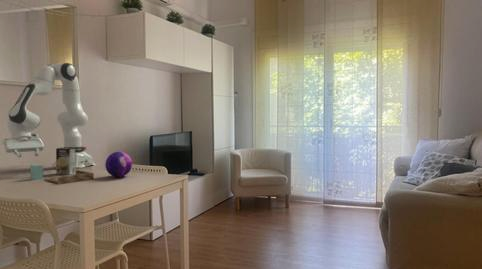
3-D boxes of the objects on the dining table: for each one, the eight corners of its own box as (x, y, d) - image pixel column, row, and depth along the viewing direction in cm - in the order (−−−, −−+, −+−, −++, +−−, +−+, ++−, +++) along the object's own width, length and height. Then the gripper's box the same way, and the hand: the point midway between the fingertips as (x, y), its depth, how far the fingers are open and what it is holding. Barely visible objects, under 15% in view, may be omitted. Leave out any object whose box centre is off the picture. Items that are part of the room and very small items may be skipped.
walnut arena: (78, 175, 218) (78, 169, 218) (93, 179, 208) (93, 173, 207) (44, 180, 203) (44, 174, 203) (59, 184, 192) (59, 177, 192)
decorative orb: (121, 173, 226) (121, 149, 225) (137, 176, 217) (137, 151, 216) (100, 177, 213) (99, 152, 213) (116, 180, 205) (115, 153, 204)
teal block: (40, 178, 210) (39, 164, 209) (43, 178, 207) (42, 165, 207) (30, 179, 206) (30, 165, 205) (33, 180, 203) (33, 166, 203)
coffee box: (55, 174, 222) (55, 148, 221) (61, 172, 228) (61, 147, 227) (70, 174, 221) (69, 148, 220) (75, 173, 227) (75, 147, 226)
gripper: (3, 135, 207) (10, 153, 202) (40, 134, 223) (48, 151, 218) (0, 142, 210) (7, 161, 205) (37, 141, 226) (44, 158, 221)
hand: (28, 156), depth 211 cm, fingers open, 8 cm apart
